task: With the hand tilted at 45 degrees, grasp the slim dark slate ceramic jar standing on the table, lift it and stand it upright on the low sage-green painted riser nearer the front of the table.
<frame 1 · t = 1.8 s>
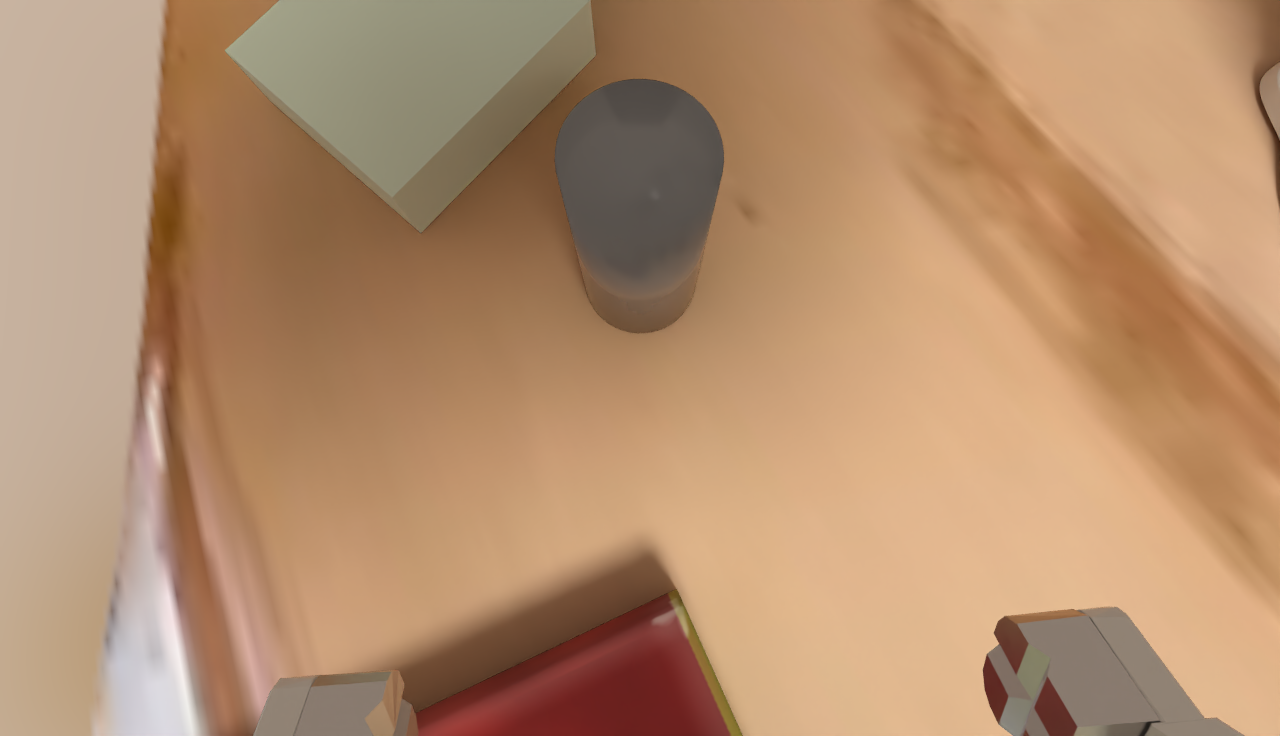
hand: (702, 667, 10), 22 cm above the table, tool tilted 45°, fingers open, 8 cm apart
slate jar: (640, 279, 34), on the table
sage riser: (434, 78, 36), on the table
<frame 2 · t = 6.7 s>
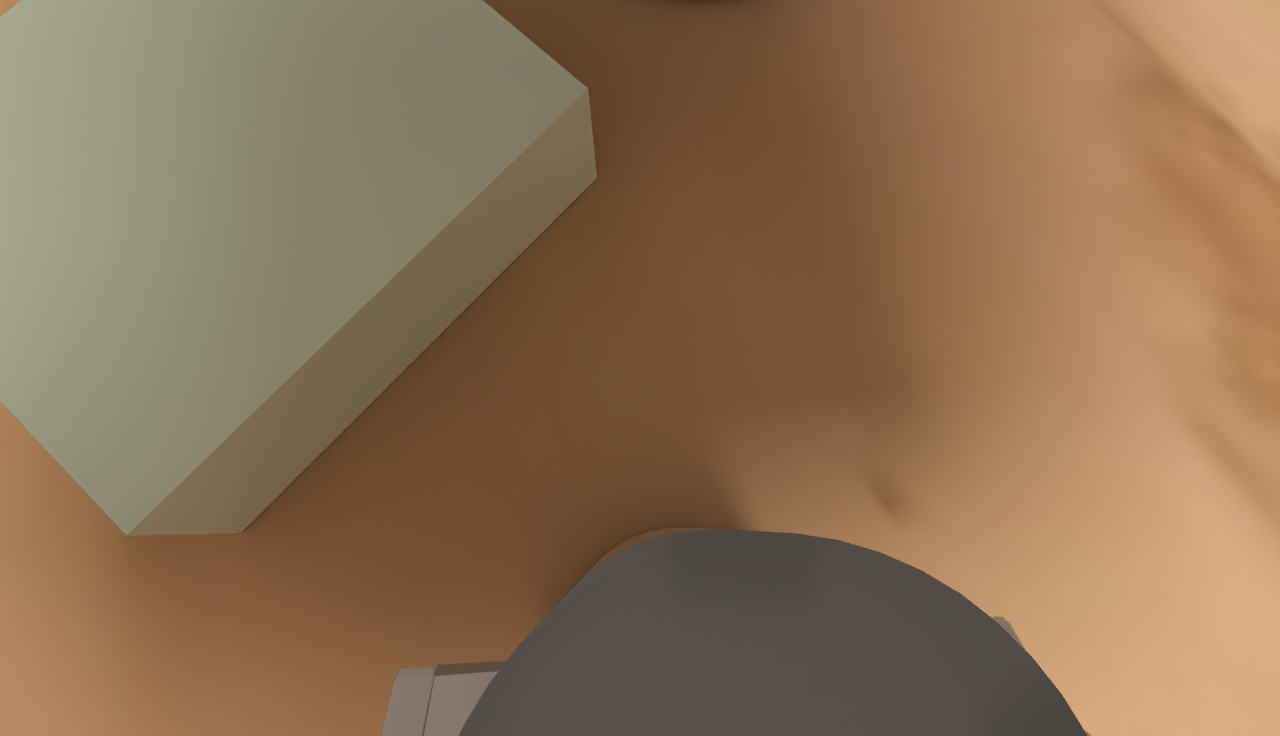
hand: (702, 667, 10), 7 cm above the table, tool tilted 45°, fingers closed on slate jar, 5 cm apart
slate jar: (676, 640, 17), on the table, touching gripper
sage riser: (288, 215, 19), on the table
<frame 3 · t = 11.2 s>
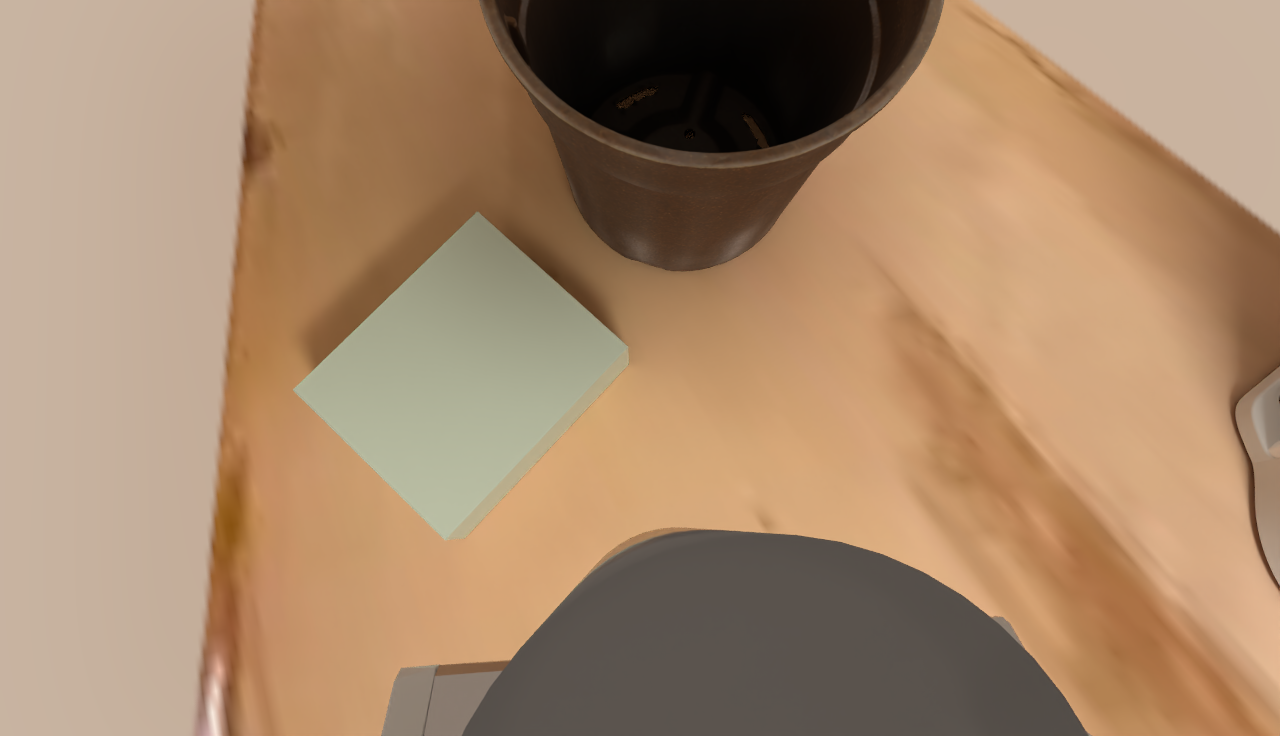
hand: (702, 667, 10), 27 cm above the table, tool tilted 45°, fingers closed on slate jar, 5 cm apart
slate jar: (678, 640, 17), point 20 cm above the table, touching gripper
plant pot: (681, 168, 42), on the table
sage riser: (479, 383, 39), on the table
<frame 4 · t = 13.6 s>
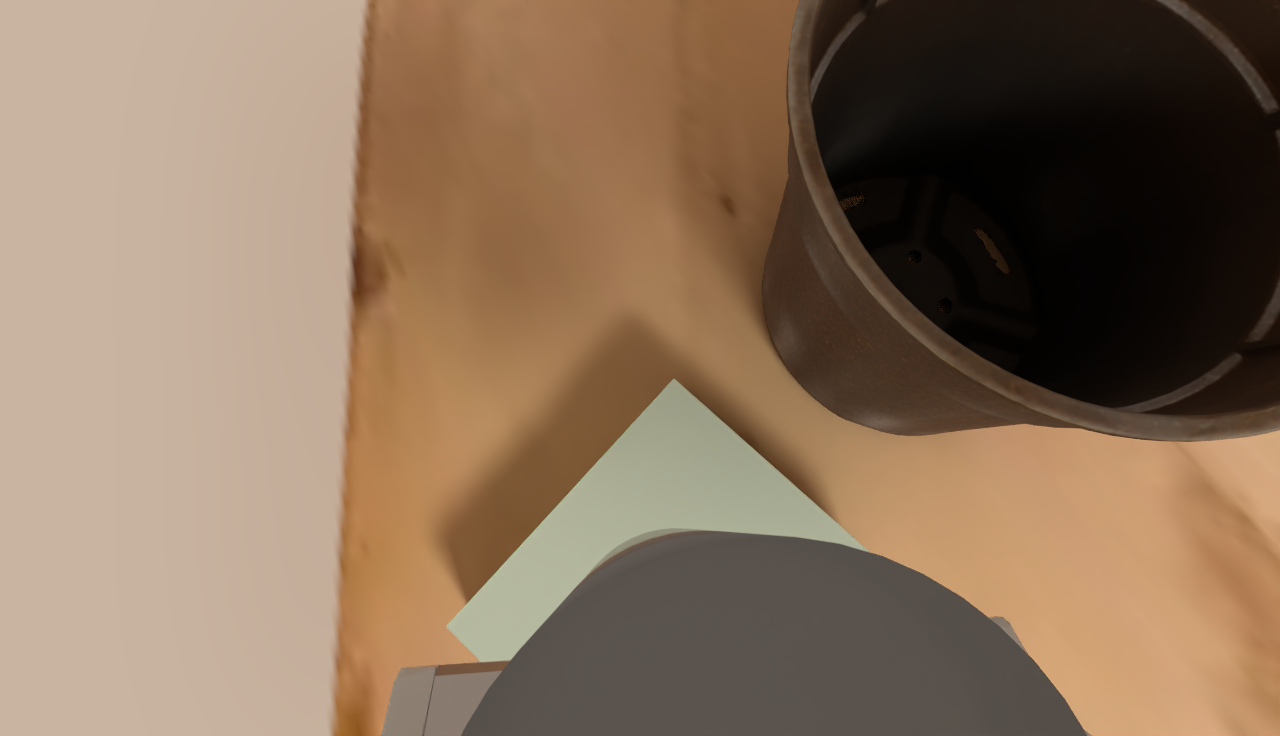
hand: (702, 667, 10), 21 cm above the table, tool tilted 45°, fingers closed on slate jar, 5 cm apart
slate jar: (677, 641, 17), point 14 cm above the table, touching gripper
plant pot: (900, 296, 33), on the table
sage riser: (662, 585, 30), on the table
when the fingers open (12 cm above the table, at t = 15.9 s): slate jar drops 1 cm, resting on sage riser.
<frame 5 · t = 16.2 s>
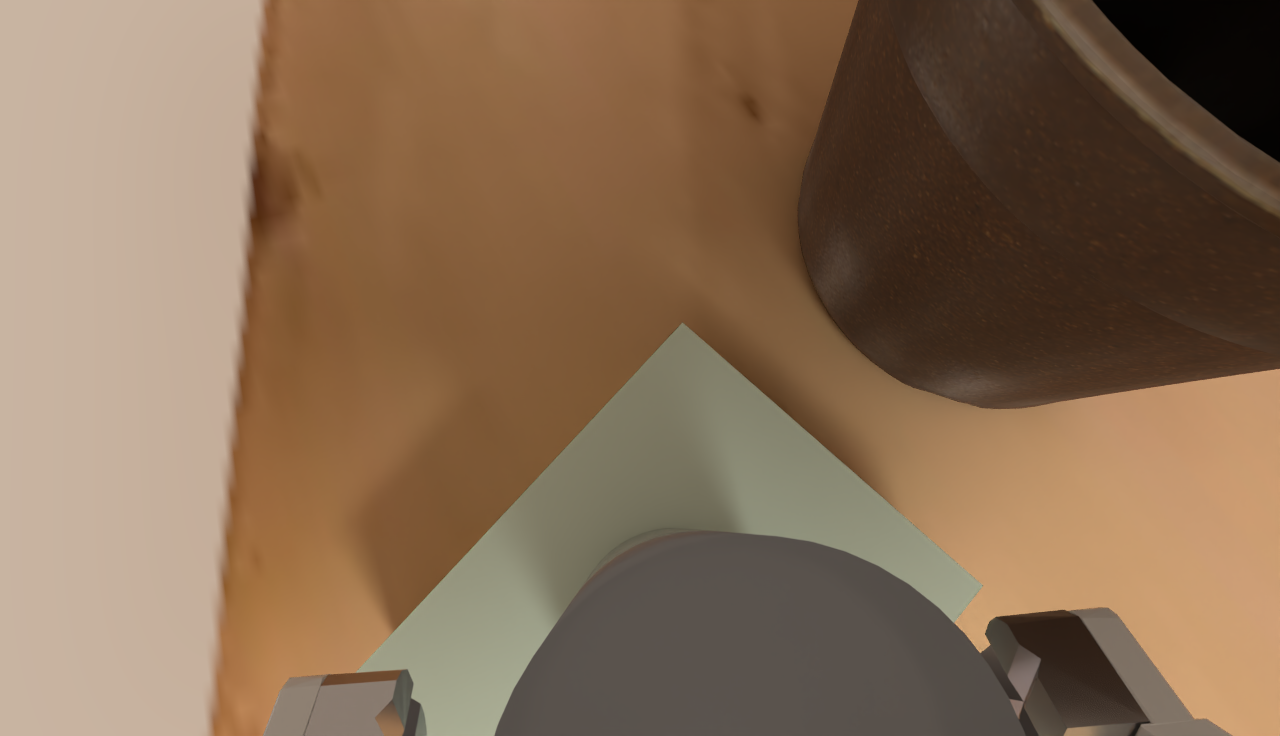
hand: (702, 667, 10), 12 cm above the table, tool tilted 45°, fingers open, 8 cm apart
slate jar: (675, 632, 18), point 4 cm above the table, touching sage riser
plant pot: (978, 227, 25), on the table
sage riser: (664, 612, 22), on the table
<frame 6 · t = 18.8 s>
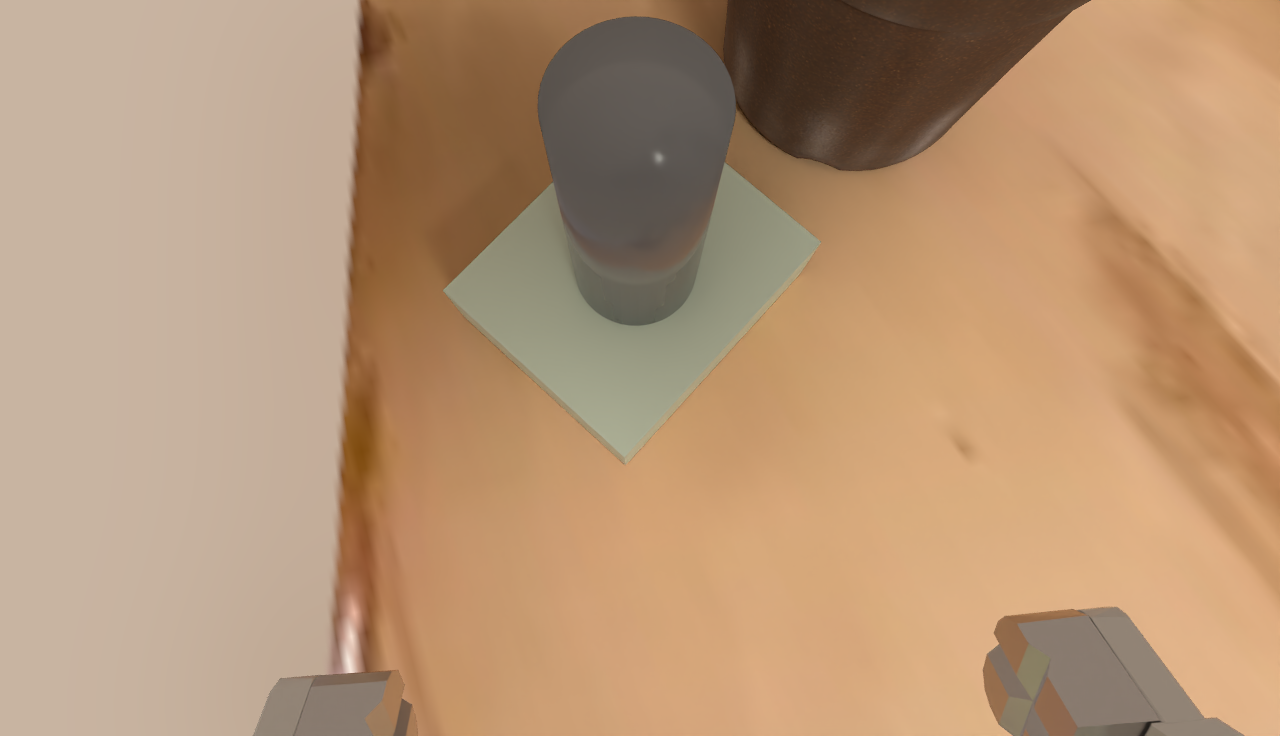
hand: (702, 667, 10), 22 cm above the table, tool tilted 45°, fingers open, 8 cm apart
slate jar: (635, 266, 31), point 4 cm above the table, touching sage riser
plant pot: (846, 61, 37), on the table
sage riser: (633, 295, 35), on the table
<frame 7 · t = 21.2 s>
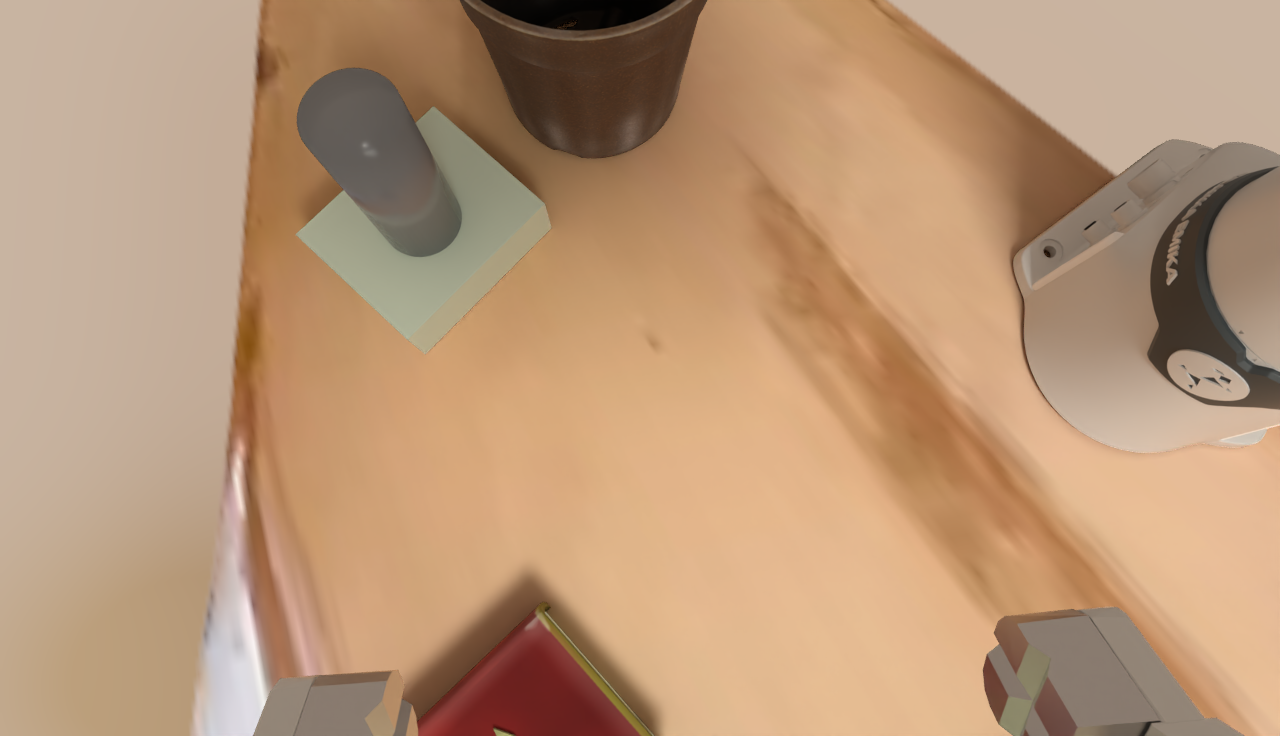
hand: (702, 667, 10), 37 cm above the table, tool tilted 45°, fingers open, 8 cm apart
slate jar: (421, 219, 47), point 4 cm above the table, touching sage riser
plant pot: (595, 82, 54), on the table
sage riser: (437, 242, 51), on the table
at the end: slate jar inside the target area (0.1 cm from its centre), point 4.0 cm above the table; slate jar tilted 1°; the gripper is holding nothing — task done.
